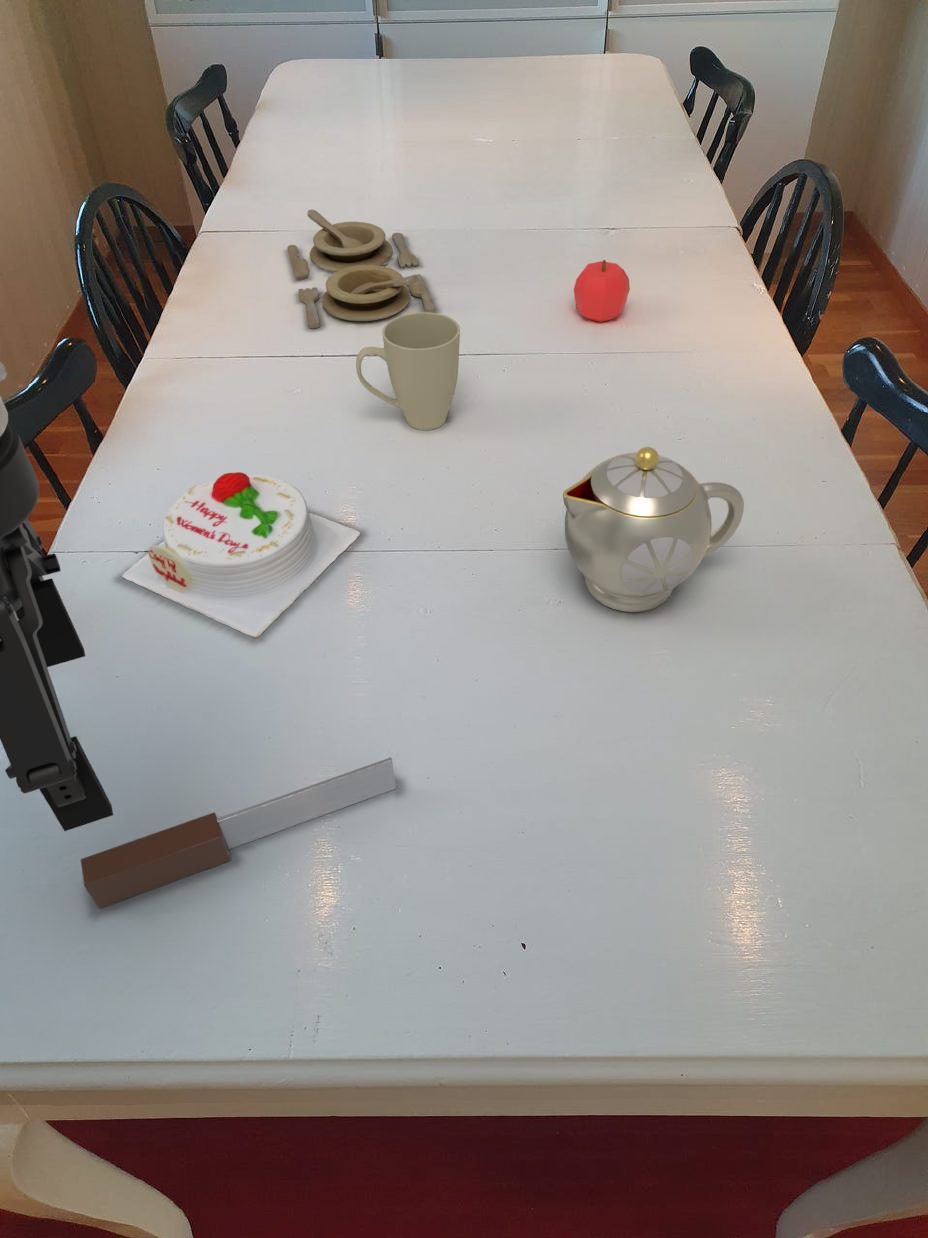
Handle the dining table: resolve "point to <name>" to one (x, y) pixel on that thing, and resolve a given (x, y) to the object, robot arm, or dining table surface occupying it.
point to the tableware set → (358, 272)
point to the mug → (419, 366)
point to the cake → (240, 550)
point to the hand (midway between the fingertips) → (75, 732)
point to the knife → (221, 835)
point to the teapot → (643, 527)
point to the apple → (601, 291)
